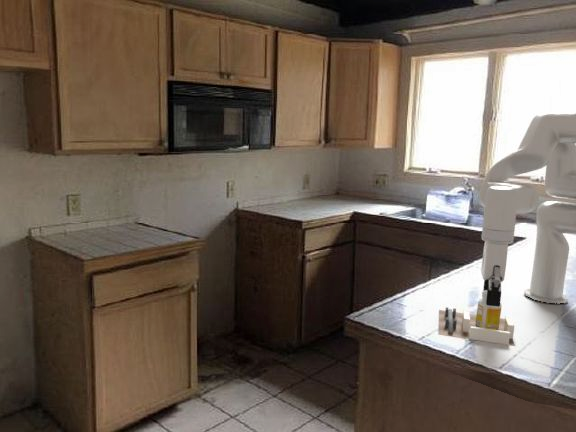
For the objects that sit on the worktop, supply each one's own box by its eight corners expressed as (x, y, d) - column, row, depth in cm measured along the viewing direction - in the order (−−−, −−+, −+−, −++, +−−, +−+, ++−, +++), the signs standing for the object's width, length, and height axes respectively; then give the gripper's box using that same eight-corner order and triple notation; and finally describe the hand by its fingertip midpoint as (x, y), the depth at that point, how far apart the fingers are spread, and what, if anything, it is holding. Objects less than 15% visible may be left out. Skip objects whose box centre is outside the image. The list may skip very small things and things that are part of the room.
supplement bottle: (471, 329, 131) (475, 292, 130) (480, 324, 135) (484, 287, 134) (493, 336, 127) (498, 297, 126) (501, 330, 132) (506, 293, 130)
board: (438, 312, 145) (439, 309, 145) (505, 321, 140) (506, 319, 140) (438, 337, 127) (438, 334, 127) (514, 349, 122) (515, 345, 122)
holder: (461, 323, 135) (463, 310, 135) (509, 330, 132) (511, 317, 131) (463, 338, 125) (464, 324, 125) (515, 345, 122) (516, 332, 121)
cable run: (445, 312, 143) (445, 305, 143) (454, 313, 142) (455, 306, 142) (445, 333, 128) (445, 324, 128) (456, 334, 127) (457, 326, 127)
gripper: (479, 226, 136) (474, 286, 140) (484, 241, 120) (477, 308, 123) (509, 229, 134) (503, 290, 138) (518, 244, 118) (510, 312, 121)
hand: (491, 298), depth 130 cm, fingers open, 9 cm apart
